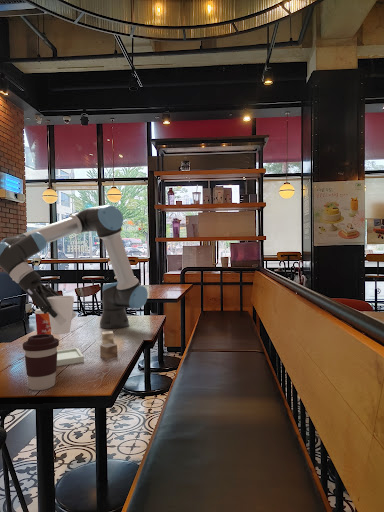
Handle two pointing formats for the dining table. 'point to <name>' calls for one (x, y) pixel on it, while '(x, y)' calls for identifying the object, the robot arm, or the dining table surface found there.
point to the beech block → (107, 337)
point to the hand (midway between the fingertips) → (69, 319)
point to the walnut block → (108, 351)
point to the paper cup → (42, 322)
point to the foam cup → (65, 308)
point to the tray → (69, 356)
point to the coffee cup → (41, 361)
